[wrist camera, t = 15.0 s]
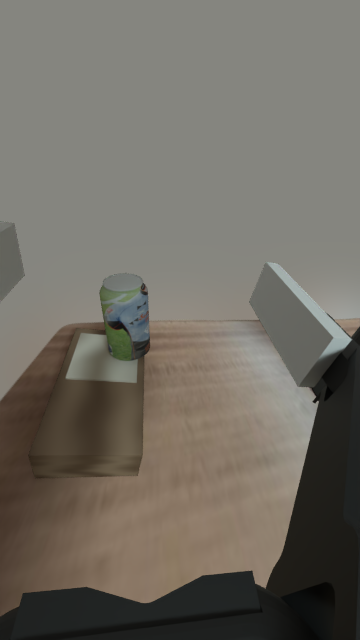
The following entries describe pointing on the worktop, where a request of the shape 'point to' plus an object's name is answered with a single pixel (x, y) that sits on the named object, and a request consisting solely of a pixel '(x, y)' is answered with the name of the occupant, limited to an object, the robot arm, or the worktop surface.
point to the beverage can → (126, 316)
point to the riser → (92, 414)
